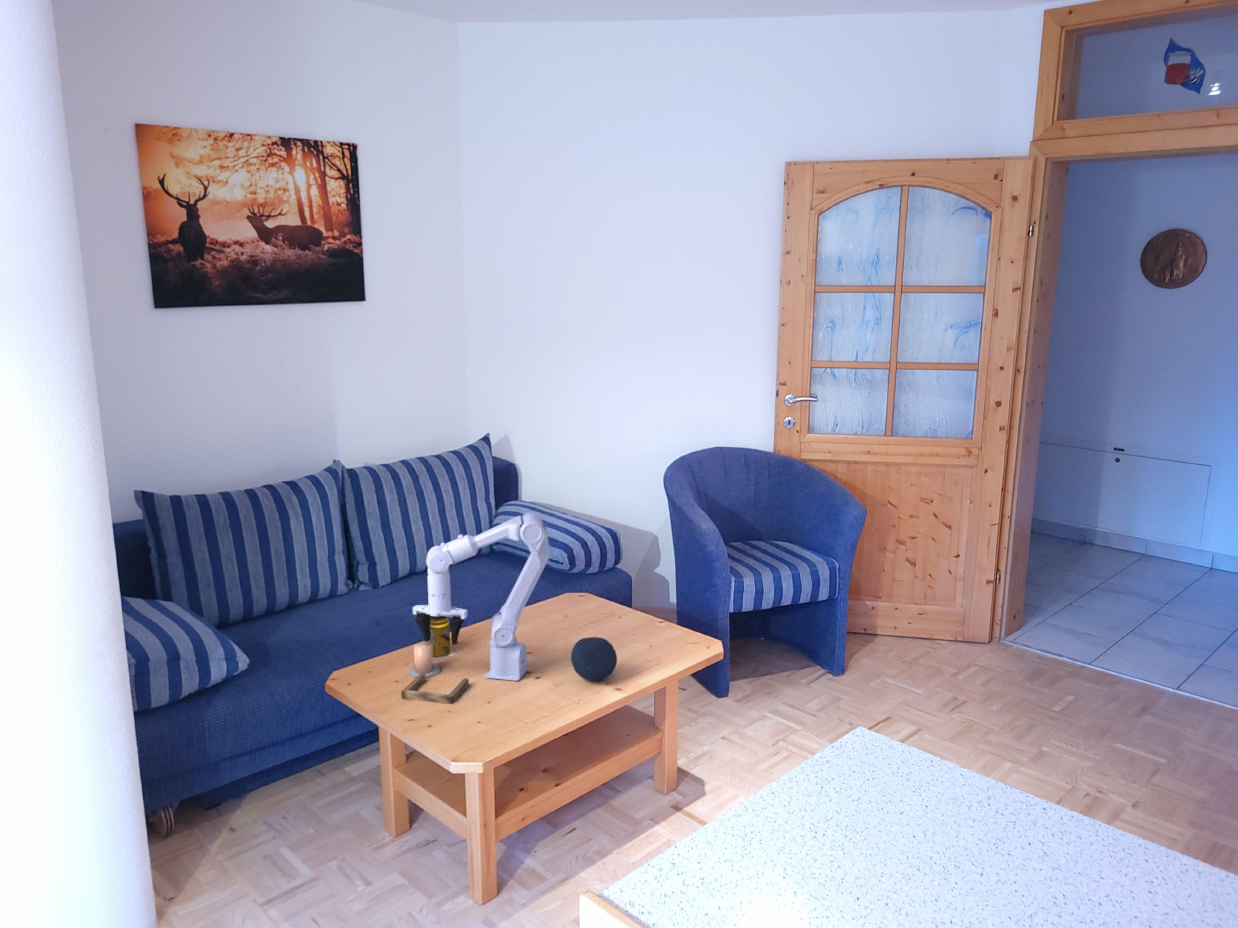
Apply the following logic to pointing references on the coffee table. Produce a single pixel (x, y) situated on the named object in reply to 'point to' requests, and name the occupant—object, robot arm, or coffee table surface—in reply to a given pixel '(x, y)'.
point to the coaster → (433, 673)
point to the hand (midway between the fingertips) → (441, 641)
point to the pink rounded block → (423, 658)
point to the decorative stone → (593, 658)
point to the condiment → (440, 636)
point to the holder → (432, 697)
